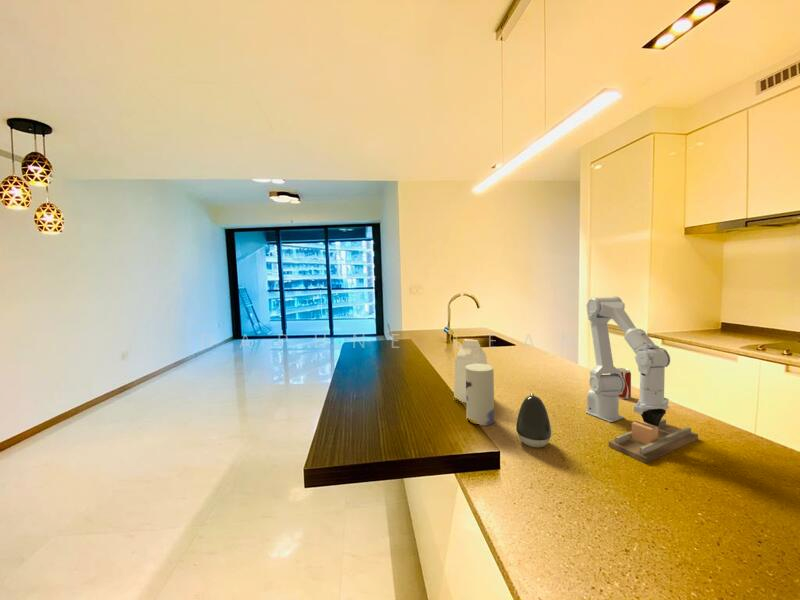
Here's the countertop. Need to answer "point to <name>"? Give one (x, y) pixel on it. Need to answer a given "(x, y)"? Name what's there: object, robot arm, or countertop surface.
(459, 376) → the milk
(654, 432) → the fader knob
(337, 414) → the countertop surface
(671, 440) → the fader board
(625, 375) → the soda can
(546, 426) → the dark egg shaped diffuser
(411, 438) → the countertop surface
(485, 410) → the container
